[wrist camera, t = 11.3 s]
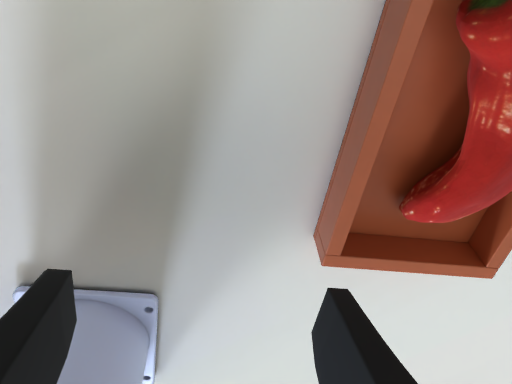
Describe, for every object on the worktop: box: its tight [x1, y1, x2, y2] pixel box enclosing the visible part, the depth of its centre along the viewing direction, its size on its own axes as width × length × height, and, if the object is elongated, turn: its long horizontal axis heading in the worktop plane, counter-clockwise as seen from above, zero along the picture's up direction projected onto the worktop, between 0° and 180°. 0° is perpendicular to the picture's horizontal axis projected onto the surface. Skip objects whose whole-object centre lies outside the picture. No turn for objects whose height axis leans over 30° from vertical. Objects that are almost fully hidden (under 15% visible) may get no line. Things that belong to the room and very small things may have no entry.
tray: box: [313, 0, 512, 279], centre depth 18 cm, size 18×10×2 cm, turn 171°
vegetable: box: [399, 0, 512, 223], centre depth 17 cm, size 4×5×12 cm
